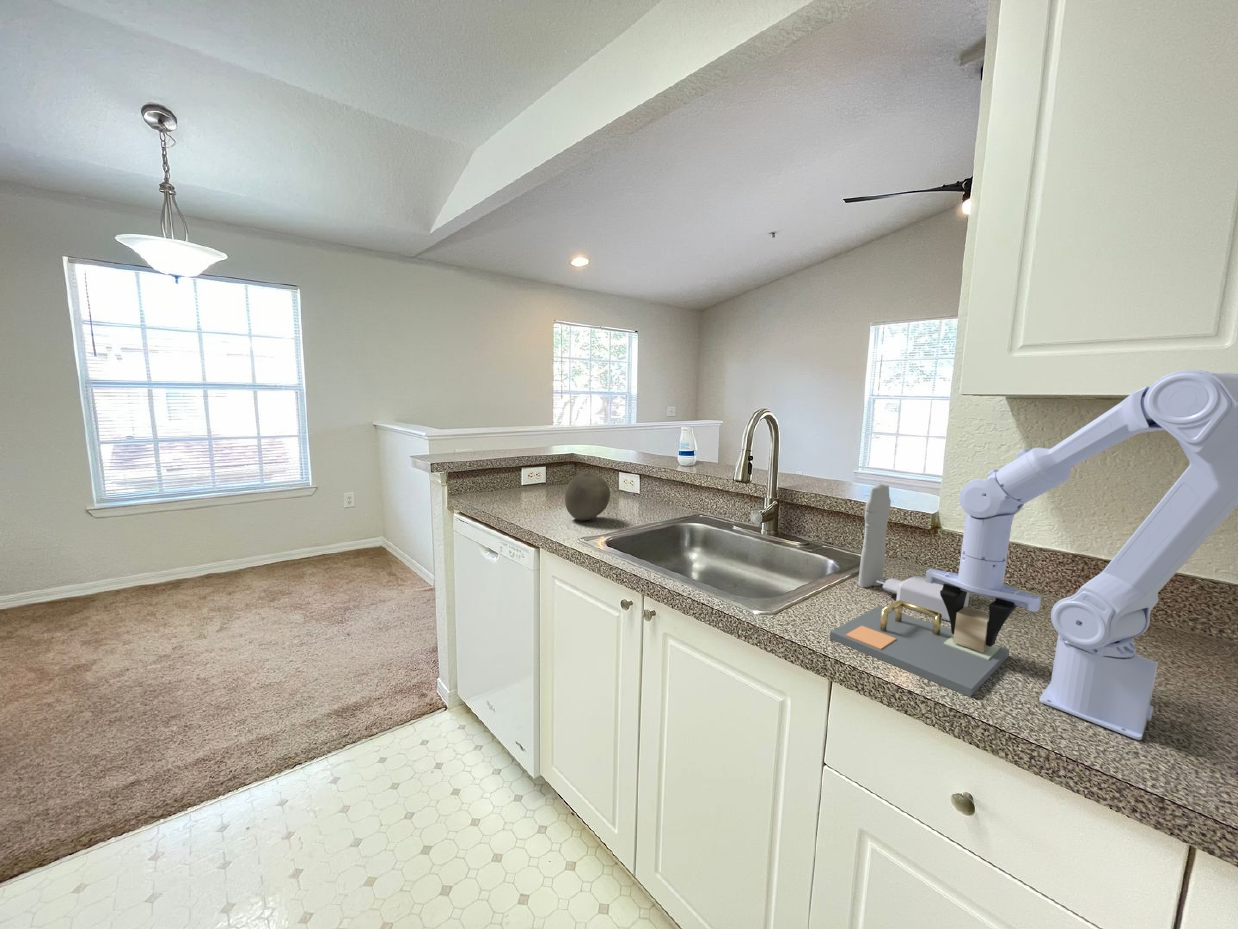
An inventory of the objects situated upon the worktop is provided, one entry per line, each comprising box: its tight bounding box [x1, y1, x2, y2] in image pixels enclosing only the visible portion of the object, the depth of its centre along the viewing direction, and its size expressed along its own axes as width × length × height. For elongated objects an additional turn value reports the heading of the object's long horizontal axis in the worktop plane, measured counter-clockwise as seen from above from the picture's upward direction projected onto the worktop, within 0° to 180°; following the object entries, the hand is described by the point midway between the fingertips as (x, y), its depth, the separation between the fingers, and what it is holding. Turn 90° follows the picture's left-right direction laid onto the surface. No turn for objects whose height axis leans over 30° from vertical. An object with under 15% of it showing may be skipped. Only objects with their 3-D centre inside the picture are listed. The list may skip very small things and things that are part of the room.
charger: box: [876, 575, 971, 622], centre depth 98 cm, size 5×9×15 cm
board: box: [829, 605, 1010, 698], centre depth 80 cm, size 20×18×1 cm
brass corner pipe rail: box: [880, 600, 943, 636], centre depth 82 cm, size 7×7×4 cm
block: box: [953, 606, 990, 653], centre depth 78 cm, size 4×4×5 cm
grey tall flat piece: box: [857, 483, 892, 589], centre depth 107 cm, size 11×4×22 cm, turn 130°
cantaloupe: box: [564, 472, 611, 522], centre depth 155 cm, size 14×14×15 cm
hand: (972, 638), depth 78 cm, fingers closed on block, 4 cm apart
